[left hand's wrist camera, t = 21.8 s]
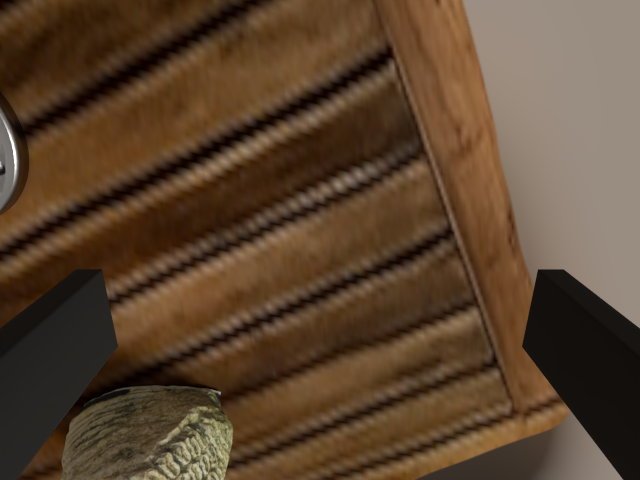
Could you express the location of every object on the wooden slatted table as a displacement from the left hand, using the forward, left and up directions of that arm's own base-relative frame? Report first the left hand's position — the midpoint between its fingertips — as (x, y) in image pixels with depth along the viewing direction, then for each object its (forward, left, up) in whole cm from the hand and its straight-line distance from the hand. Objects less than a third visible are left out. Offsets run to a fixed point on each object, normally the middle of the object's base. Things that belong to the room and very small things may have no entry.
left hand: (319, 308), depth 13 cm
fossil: (-29, -16, -26) cm, 42 cm away
